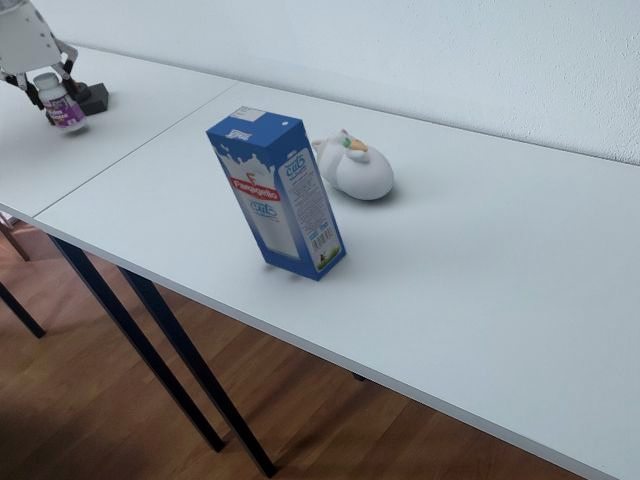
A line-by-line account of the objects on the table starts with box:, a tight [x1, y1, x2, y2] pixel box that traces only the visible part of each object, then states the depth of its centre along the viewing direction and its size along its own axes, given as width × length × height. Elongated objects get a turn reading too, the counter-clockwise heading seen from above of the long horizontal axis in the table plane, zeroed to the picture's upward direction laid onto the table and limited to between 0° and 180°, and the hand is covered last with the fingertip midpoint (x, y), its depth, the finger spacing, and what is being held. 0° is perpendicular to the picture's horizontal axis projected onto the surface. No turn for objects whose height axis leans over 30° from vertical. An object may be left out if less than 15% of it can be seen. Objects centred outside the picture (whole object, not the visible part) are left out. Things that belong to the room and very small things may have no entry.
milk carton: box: [205, 105, 348, 282], centre depth 81 cm, size 10×6×20 cm, turn 58°
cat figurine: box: [310, 128, 395, 201], centre depth 96 cm, size 10×8×15 cm
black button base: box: [45, 81, 109, 126], centre depth 130 cm, size 11×9×4 cm
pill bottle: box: [32, 71, 88, 133], centre depth 120 cm, size 5×5×10 cm
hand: (59, 101), depth 120 cm, fingers closed on pill bottle, 5 cm apart
